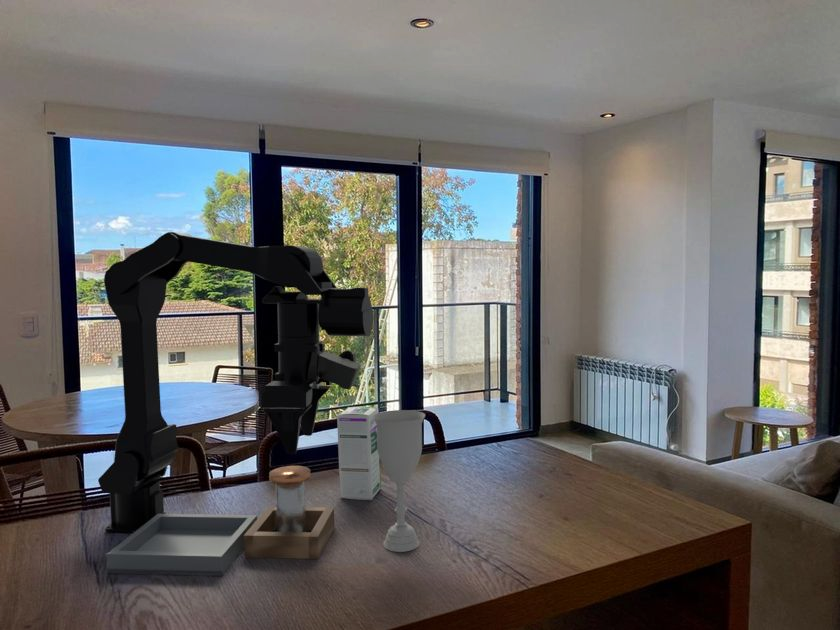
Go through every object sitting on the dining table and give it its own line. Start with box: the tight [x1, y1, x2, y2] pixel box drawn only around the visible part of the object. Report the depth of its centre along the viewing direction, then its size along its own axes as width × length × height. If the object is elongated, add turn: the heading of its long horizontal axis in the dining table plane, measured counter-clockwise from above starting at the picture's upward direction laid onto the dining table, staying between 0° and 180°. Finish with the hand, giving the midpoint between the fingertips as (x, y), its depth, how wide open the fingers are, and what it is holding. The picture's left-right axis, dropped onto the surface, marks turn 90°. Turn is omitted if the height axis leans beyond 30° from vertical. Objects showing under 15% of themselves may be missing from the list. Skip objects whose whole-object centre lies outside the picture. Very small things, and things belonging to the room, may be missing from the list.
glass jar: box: [268, 465, 311, 532], centre depth 85 cm, size 6×6×10 cm
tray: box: [105, 513, 258, 577], centre depth 82 cm, size 15×13×2 cm
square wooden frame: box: [243, 506, 336, 560], centre depth 85 cm, size 10×10×3 cm
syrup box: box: [336, 406, 382, 501], centre depth 103 cm, size 6×6×14 cm
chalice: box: [373, 409, 426, 553], centre depth 83 cm, size 7×7×18 cm
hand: (300, 444), depth 86 cm, fingers open, 9 cm apart
